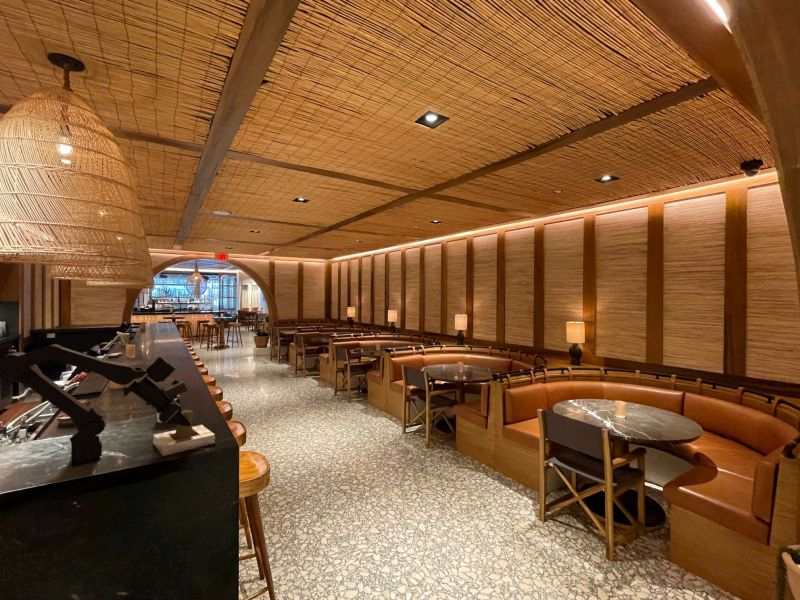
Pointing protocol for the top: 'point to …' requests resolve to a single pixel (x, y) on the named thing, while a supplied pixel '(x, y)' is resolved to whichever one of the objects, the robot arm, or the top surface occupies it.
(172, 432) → the socket block
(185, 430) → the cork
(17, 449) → the top surface
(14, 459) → the top surface
